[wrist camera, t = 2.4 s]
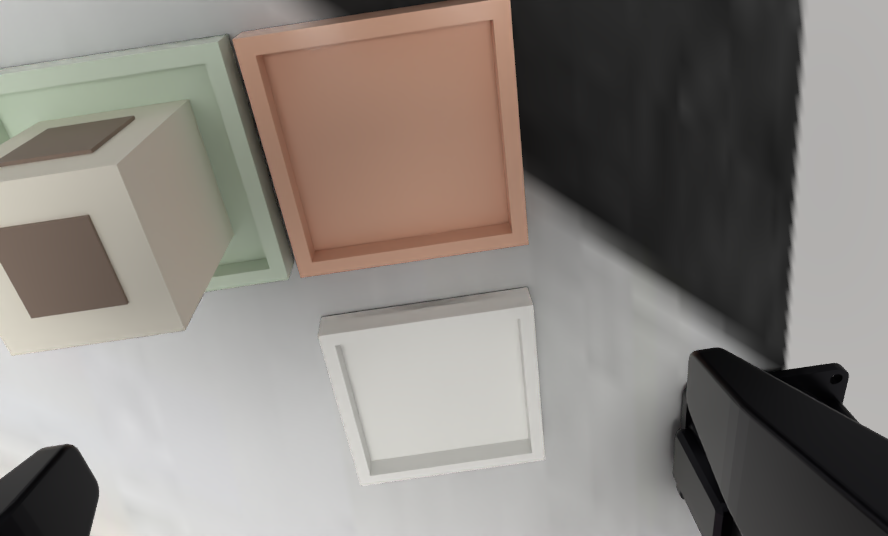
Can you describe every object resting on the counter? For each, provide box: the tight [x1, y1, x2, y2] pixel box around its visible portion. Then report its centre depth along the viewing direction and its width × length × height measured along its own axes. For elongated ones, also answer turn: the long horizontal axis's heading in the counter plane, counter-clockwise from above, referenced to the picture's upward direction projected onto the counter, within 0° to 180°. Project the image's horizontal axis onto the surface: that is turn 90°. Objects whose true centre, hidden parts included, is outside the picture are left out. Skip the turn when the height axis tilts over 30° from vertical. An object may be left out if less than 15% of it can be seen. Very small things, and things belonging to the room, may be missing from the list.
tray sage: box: [0, 34, 294, 292], centre depth 20 cm, size 8×8×1 cm
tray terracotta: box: [232, 0, 529, 278], centre depth 20 cm, size 8×8×1 cm
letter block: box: [0, 99, 234, 356], centre depth 17 cm, size 4×5×6 cm
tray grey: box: [318, 287, 545, 486], centre depth 25 cm, size 8×8×1 cm
